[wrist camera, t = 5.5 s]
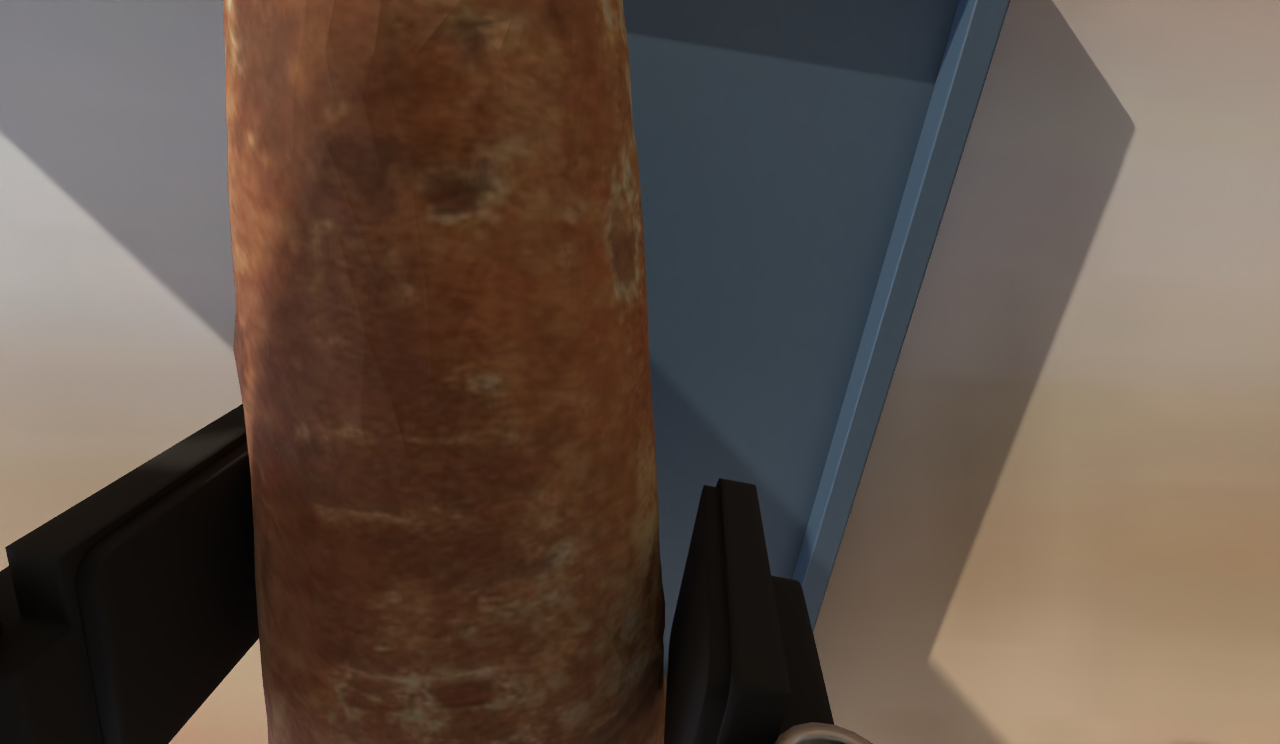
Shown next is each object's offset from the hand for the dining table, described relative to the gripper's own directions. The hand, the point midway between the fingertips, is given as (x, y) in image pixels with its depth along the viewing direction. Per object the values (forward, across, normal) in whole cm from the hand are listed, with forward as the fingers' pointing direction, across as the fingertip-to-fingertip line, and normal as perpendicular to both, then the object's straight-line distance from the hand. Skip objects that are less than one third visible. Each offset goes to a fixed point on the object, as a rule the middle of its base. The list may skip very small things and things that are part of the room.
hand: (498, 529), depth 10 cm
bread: (+2, +1, 0) cm, 2 cm away
